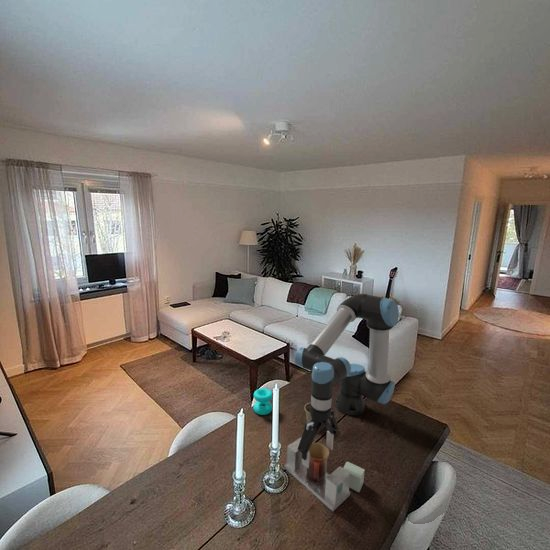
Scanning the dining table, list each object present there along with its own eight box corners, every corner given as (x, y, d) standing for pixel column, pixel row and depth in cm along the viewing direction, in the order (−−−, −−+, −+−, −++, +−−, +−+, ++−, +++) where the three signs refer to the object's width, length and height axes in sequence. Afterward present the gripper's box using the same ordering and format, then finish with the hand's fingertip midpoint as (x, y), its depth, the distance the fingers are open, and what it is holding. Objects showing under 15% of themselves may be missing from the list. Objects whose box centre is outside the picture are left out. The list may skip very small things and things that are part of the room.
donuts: (269, 399, 150) (250, 395, 153) (268, 418, 152) (250, 413, 155) (275, 389, 159) (257, 385, 162) (275, 406, 161) (257, 402, 164)
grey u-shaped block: (301, 455, 128) (302, 435, 127) (350, 495, 110) (352, 473, 109) (284, 467, 122) (284, 446, 120) (333, 512, 104) (335, 488, 102)
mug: (305, 463, 122) (307, 440, 120) (327, 467, 121) (329, 444, 119) (302, 488, 111) (304, 464, 109) (326, 493, 109) (328, 468, 107)
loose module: (345, 474, 120) (346, 461, 118) (363, 483, 116) (364, 469, 115) (340, 483, 115) (342, 469, 114) (359, 492, 112) (360, 478, 111)
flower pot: (322, 432, 143) (324, 415, 141) (302, 429, 144) (303, 412, 143) (323, 419, 152) (324, 403, 151) (304, 416, 154) (305, 401, 152)
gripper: (333, 388, 121) (330, 435, 125) (288, 414, 105) (286, 467, 109) (349, 397, 116) (345, 446, 120) (304, 425, 99) (302, 481, 103)
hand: (317, 456), depth 114 cm, fingers open, 13 cm apart
